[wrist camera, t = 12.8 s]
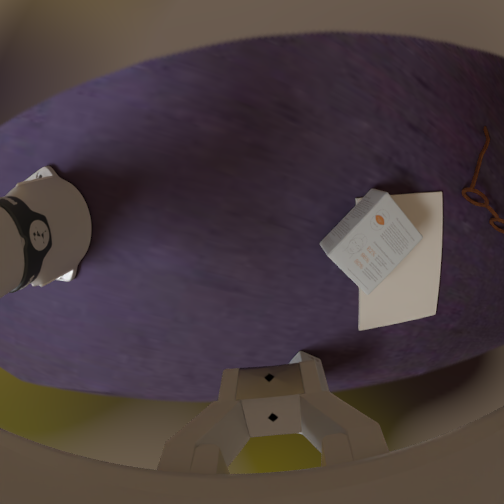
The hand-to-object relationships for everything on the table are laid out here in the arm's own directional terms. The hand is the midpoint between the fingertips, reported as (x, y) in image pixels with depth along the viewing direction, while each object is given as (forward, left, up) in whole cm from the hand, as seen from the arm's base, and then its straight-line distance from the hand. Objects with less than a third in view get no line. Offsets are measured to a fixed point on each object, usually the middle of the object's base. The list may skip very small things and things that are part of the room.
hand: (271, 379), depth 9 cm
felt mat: (+19, -9, -31) cm, 38 cm away
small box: (+9, -7, -28) cm, 30 cm away
